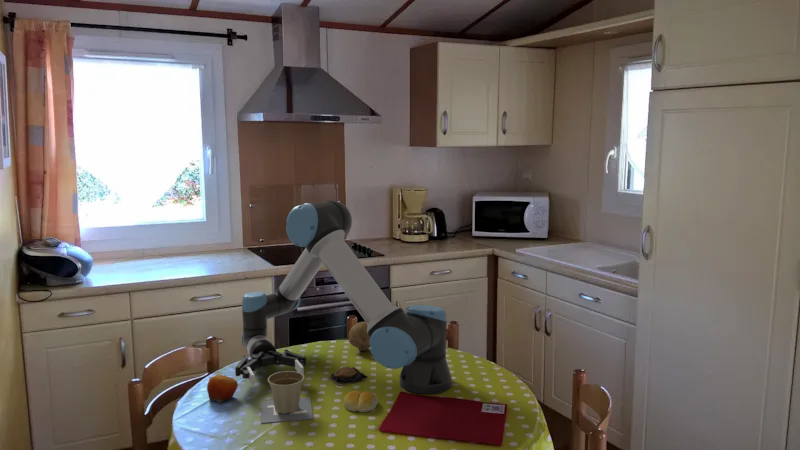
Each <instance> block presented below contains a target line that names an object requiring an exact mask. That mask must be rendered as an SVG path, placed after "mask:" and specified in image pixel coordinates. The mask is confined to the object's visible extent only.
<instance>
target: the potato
mask: <svg viewBox="0 0 800 450" xmlns="http://www.w3.org/2000/svg"><path fill="white" fill-rule="evenodd" d="M367 328H368V324H367V323H366V321H360V322H357V323H356V324H354V325H353V326H352V327H351V328H350V330H349V333H348V341H349V343H350V345H351V346H353V347H355V348H357V349H358V350H359V351H361V352H365V351H367V350H369V349H370V347H371V345H370V344H369V342H370V337H369V335H368V334H367Z"/></svg>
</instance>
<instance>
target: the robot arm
mask: <svg viewBox="0 0 800 450" xmlns="http://www.w3.org/2000/svg"><path fill="white" fill-rule="evenodd" d="M286 217H287V218H286V226H285V230H286V235H287V237H288V240H289V241H290V242H291V243H292V244H293V245H294V246H296V247H299V248H304V250H303V251H302V253H301V254H300V256H299V257H298V258H297V261H295V263H294V265H293V266H292V268H291V269H290V270H289V272H288V274H287V275H286V276H285V277H284V279H283V281H282V283H281V284H280V285H279V286H278V288H277V289H276V290H275V292H272V293H270V294H266V293H265V292H264V291H253V292H252V291H251V292H246V293H244V294H243V295H242V301H241V310H242V311H241V312H242V333H241V335H240V340H241V344H242V347H243V348H244V349H245V351H246V353H247V354H248V356H247V355H242V356H241V359H240V361H239V362H238V363H237V365H236V366H235V367H234V368H235V369H234V370H235V371H234V372H235V377H240V376H241V375H242V379H247V380H249V382H250V384H251V386H254V385H255V374H254V371H255V370H258V369H260V368H266V367H268V366H273V365H274V366H279V367H280V365H283V366H288V367H293V368H294V369H295V372H299V373H302V374H303V375H304V370H305V367H306V366H307V357H306V356H304V355H302V354H298V353H295V352H292V351H290V350H289V349H284V350H283V352H279V351H277V349H276V347H275V345H274V344H273V343H272V342H271V340H270V339H269V338H268V320H269V319H272V318H274V317H275V318H276V317H277V316H280V315H284V314H287V313H291V312H293V311H294V310H297V309H298V308H299V307H300V305H301V300H302V298H301V296H302V294H303V293H304V291H305V290H306V288H308V286H309V284H311V282H312V280H313V279H314V277H315V276H317V275H316V274H317V273H318V272H319V270H320V269H321V267H322V266H323V265H324V266H325V268H326V269H327V271H328V272H329V273H330V274H331V276H332V278H334V280H335V281H336V283H337V284H338V286H340V288H341V290H342V291H343V292H344V293H345V296H346V297H347V298H348V300H349V301H350V302H351V304H352V305H353V306H354V308H355V309H356V310H357V312H358V313H359V314H360V316H361V317H362V318H363V320H364V322H366V323H367V324H368V328H367V334H368V335H369V337H370V342H369V344H370V345H371V346H370V347H369V350H370V353H371V355H372V357H373V358H374V360H375V361H376V362H377V363H378V364H380V365H381V366H383V367H385V368H387V369H391V370H392V369H393V370H397V369H401V370H400V374H399V386H400V387H401V388H402V389H403V390H405V391H408V392H410V393H415V394H421V395H431V394H438V393H442V392H446V391H447V390H449V389H450V388H451V387H452V374H451V371H450V368H449V365H448V361H447V323H448V320H447V312H446V310H445V309H444V308H441V307H439V306H434V305H428V304H426V305H425V304H412V305H408V306H406V309H405V311H404V309H403V308H402V307H401V306H395V305H393V303H392V302H391V301H390V300H389V299H388V297H387V296H386V295H385V292H383V291H382V289H381V287H380V286H379V285H378V284H377V282H376V281H375V280H374V278H373V277H372V275H371V273H369V272H368V270H367V269H366V268H365V266H364V265H363V263H362V262H361V261H360V260H359V258H358V256H357V255H356V254H355V253H354V251H353V250H352V249H351V247H350V246H349V245H348V243H347V242H346V241H345V240H346V238H347V237H348V236H349V234H350V231H351V229H352V226H353V217H352V215H351V212H350V209H348V207H347V206H346V205H345V204H344V203H342V202H340V201H337V200H331V199H330V200H324V201H319V202H313V203H307V202H305V203H303V204H300V205H297V206H294V207H293V208H292V209H291V211H289V213H288V216H286ZM304 376H305V375H304Z"/></svg>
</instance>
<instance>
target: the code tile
mask: <svg viewBox="0 0 800 450" xmlns="http://www.w3.org/2000/svg"><path fill="white" fill-rule="evenodd" d="M305 420H307V421H308V420H314V414H313V405H312V399H311V397H310V396H309V397H308V396H307V397H300V401H299V408H298V410H297V411H295V412H293V413H290V412H288V413H286V414H282V413H278V412H276V410H275V407H274V401H273V400H272V399H271V400H261V419H260V424H273V423H283V422H295V421H297V422H298V421H305Z"/></svg>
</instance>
